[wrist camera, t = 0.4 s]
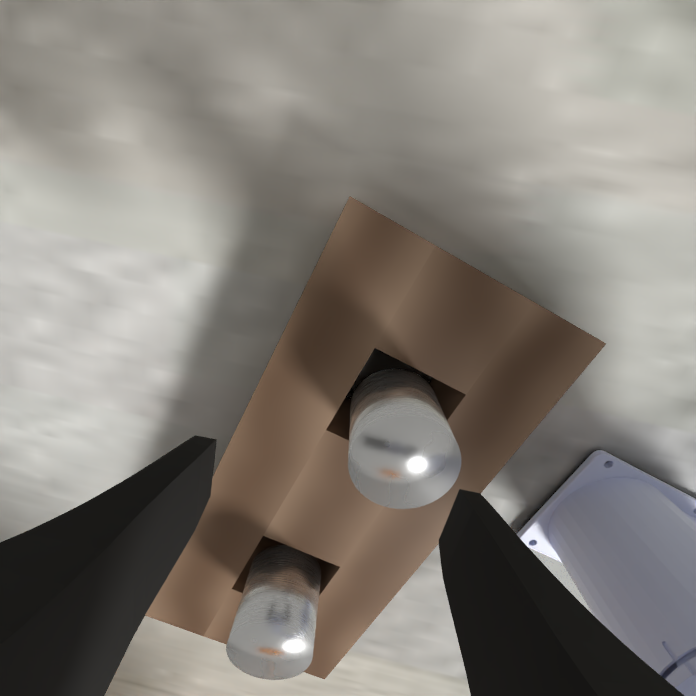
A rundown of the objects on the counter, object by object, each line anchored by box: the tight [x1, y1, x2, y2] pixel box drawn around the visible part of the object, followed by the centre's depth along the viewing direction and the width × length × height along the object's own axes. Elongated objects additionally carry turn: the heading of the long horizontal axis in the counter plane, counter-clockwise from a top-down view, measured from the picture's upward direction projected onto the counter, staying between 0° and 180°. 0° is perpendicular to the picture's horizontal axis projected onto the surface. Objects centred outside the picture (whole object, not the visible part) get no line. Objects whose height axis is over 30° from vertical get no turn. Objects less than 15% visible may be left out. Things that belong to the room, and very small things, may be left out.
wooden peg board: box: [145, 197, 606, 679], centre depth 20 cm, size 12×26×4 cm, turn 152°
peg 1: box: [226, 545, 321, 680], centre depth 18 cm, size 4×4×4 cm
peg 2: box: [348, 369, 461, 509], centre depth 14 cm, size 4×4×4 cm
